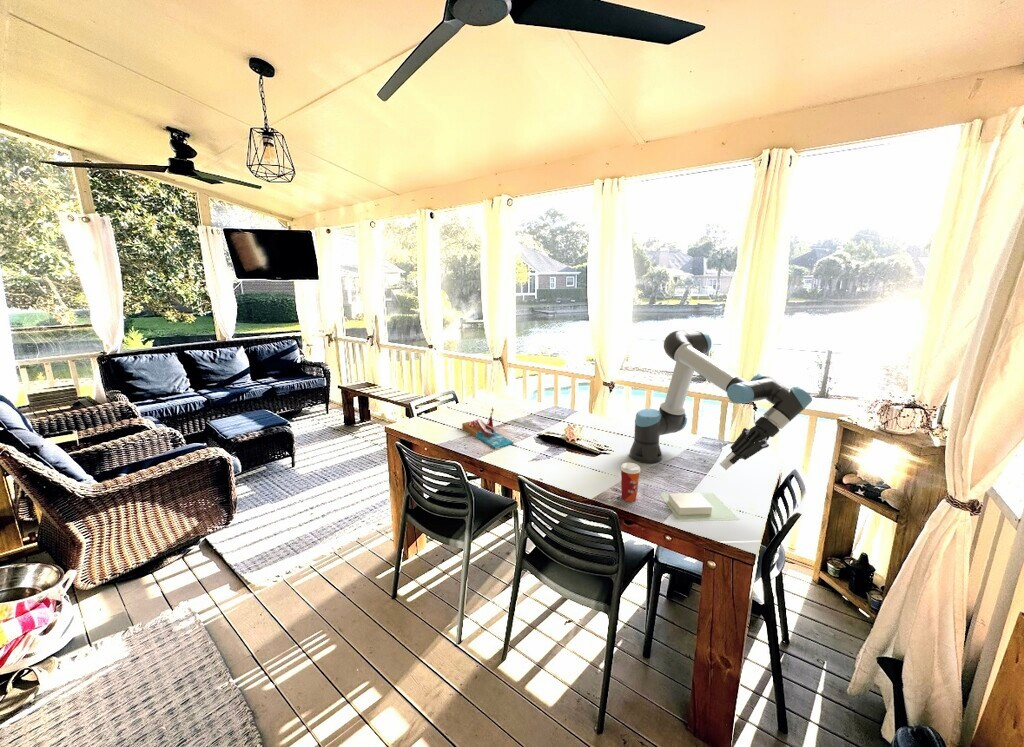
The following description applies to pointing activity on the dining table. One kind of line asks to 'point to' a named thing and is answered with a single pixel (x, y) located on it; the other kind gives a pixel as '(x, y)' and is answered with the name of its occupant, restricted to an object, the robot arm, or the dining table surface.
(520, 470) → the dining table surface
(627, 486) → the paper cup
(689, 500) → the pale orange box
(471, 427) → the sailboat model
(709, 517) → the rubber mat
